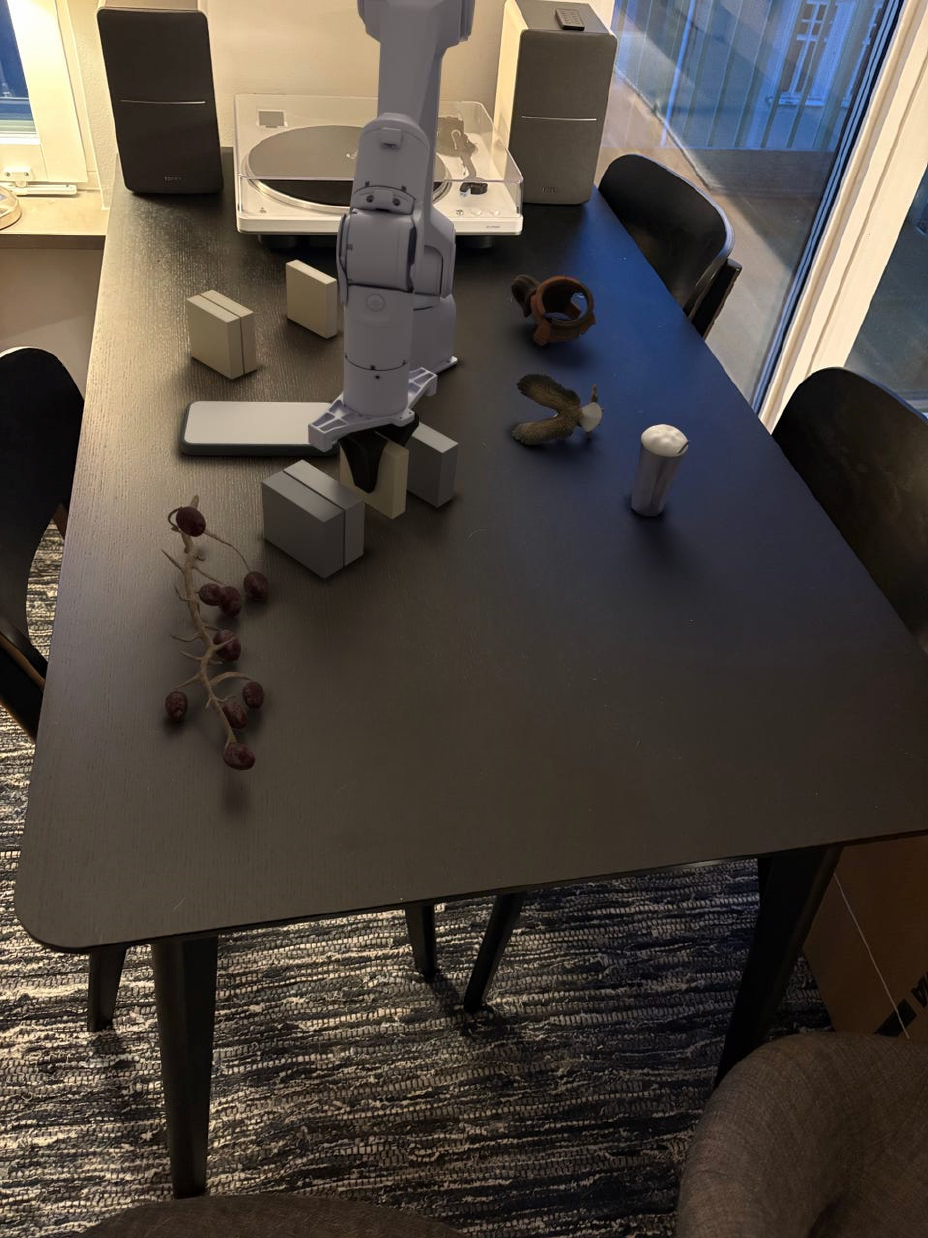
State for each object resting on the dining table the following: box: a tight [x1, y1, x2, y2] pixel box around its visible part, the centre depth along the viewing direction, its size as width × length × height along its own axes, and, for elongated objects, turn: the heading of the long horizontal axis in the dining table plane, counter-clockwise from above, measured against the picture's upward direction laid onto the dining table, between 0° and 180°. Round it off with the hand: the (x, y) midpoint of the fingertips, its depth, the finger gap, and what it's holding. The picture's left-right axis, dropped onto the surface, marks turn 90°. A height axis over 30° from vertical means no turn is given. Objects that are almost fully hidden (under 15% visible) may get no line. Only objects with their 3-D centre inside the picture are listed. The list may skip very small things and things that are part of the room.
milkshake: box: [630, 423, 692, 517], centre depth 96 cm, size 5×5×10 cm
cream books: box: [185, 259, 338, 380], centre depth 113 cm, size 17×7×7 cm, turn 140°
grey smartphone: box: [179, 400, 340, 457], centre depth 102 cm, size 9×2×16 cm
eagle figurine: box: [511, 372, 605, 446], centre depth 106 cm, size 8×7×9 cm
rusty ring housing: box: [510, 274, 597, 347], centre depth 123 cm, size 12×10×8 cm
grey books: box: [260, 421, 459, 580], centre depth 92 cm, size 18×8×6 cm, turn 140°
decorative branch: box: [160, 494, 270, 771], centre depth 79 cm, size 11×9×30 cm
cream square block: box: [339, 431, 409, 520], centre depth 91 cm, size 2×7×7 cm, turn 50°
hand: (372, 482), depth 92 cm, fingers closed on cream square block, 2 cm apart
